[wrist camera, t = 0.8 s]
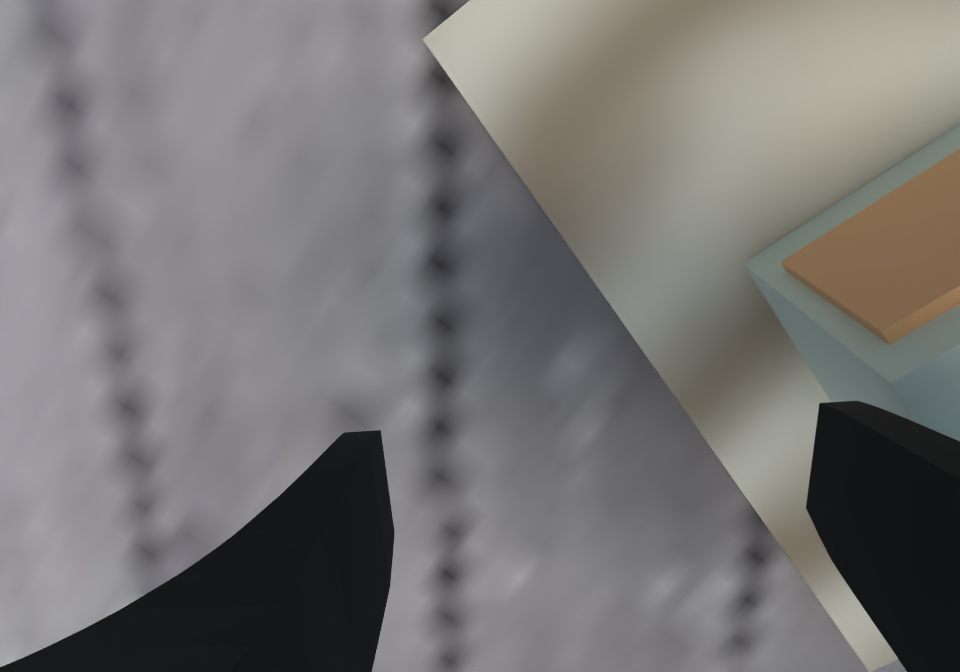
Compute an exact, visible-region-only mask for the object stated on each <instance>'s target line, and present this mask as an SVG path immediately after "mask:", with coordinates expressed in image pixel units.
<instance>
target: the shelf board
mask: <svg viewBox="0 0 960 672" xmlns="http://www.w3.org/2000/svg"><path fill="white" fill-rule="evenodd" d="M423 41H424V42H425V43H426V45H427V46H428V48H429V49H430V50H431V52H432V53H433V55H434V56H435V58H436V59H437V60H438V62H439V63H440V65H441V66H442V67H443V69H444V70H445V72H446V73H447V75H448V76H449V77H450V79H451V80H452V82H453V83H454V84H455V86H456V87H457V89H458V90H459V92H460V93H461V94H462V96H463V97H464V99H465V100H466V101H467V103H468V104H469V106H470V107H471V109H472V110H473V111H474V113H475V114H476V116H477V117H478V118H479V120H480V121H481V123H482V124H483V125H484V127H485V128H486V130H487V131H488V133H489V134H490V135H491V137H492V138H493V140H494V141H495V142H496V144H497V145H498V147H499V148H500V150H501V151H502V152H503V154H504V155H505V157H506V158H507V159H508V161H509V162H510V164H511V165H512V167H513V168H514V169H515V171H516V172H517V174H518V175H519V176H520V178H521V179H522V181H523V182H524V184H525V185H526V186H527V188H528V189H529V191H530V192H531V193H532V195H533V196H534V198H535V199H536V201H537V202H538V203H539V205H540V206H541V208H542V209H543V210H544V212H545V213H546V215H547V216H548V218H549V219H550V220H551V222H552V223H553V225H554V226H555V227H556V229H557V230H558V232H559V233H560V235H561V236H562V237H563V239H564V240H565V242H566V243H567V244H568V246H569V247H570V249H571V250H572V252H573V253H574V254H575V256H576V257H577V259H578V260H579V261H580V263H581V264H582V266H583V267H584V269H585V270H586V271H587V273H588V274H589V276H590V277H591V278H592V280H593V281H594V283H595V284H596V286H597V287H598V288H599V290H600V291H601V293H602V294H603V295H604V297H605V298H606V300H607V301H608V303H609V304H610V305H611V307H612V308H613V310H614V311H615V312H616V314H617V315H618V317H619V318H620V320H621V321H622V322H623V324H624V325H625V327H626V328H627V329H628V331H629V332H630V334H631V335H632V337H633V338H634V339H635V341H636V342H637V344H638V345H639V346H640V348H641V349H642V351H643V352H644V354H645V355H646V356H647V358H648V359H649V361H650V362H651V363H652V365H653V366H654V368H655V369H656V371H657V372H658V373H659V375H660V376H661V378H662V379H663V380H664V382H665V383H666V385H667V386H668V388H669V389H670V390H671V392H672V393H673V395H674V396H675V397H676V399H677V400H678V402H679V403H680V404H681V406H682V407H683V409H684V410H685V412H686V413H687V414H688V416H689V417H690V419H691V420H692V421H693V423H694V424H695V426H696V427H697V429H698V430H699V431H700V433H701V434H702V436H703V437H704V438H705V440H706V441H707V443H708V444H709V446H710V447H711V448H712V450H713V451H714V453H715V454H716V455H717V457H718V458H719V460H720V461H721V463H722V464H723V465H724V467H725V468H726V470H727V471H728V472H729V474H730V475H731V477H732V478H733V480H734V481H735V482H736V484H737V485H738V487H739V488H740V489H741V491H742V492H743V494H744V495H745V497H746V498H747V499H748V501H749V502H750V504H751V505H752V506H753V508H754V509H755V511H756V512H757V514H758V515H759V516H760V518H761V519H762V521H763V522H764V523H765V525H766V526H767V528H768V529H769V531H770V532H771V533H772V535H773V536H774V538H775V539H776V540H777V542H778V543H779V545H780V546H781V548H782V549H783V550H784V552H785V553H786V555H787V556H788V557H789V559H790V560H791V562H792V563H793V565H794V566H795V567H796V569H797V570H798V572H799V573H800V574H801V576H802V577H803V579H804V580H805V582H806V583H807V584H808V586H809V587H810V589H811V590H812V591H813V593H814V594H815V596H816V597H817V599H818V600H819V601H820V603H821V604H822V606H823V607H824V608H825V610H826V611H827V613H828V614H829V616H830V617H831V618H832V620H833V621H834V623H835V624H836V625H837V627H838V628H839V630H840V631H841V633H842V634H843V635H844V637H845V638H846V640H847V641H848V642H849V644H850V645H851V647H852V648H853V650H854V651H855V652H856V654H857V655H858V657H859V658H860V659H861V661H862V662H863V664H864V665H865V667H866V668H867V669H868V671H869V672H872V671H874V670H877V669H879V668H881V667H883V666H885V665H887V664H889V663H892V662H894V661H896V660H898V658H897V656H896V655H895V653H894V652H893V650H892V649H891V647H890V646H889V644H888V643H887V642H886V640H885V639H884V637H883V636H882V634H881V633H880V631H879V630H878V628H877V627H876V626H875V624H874V623H873V621H872V620H871V618H870V617H869V615H868V614H867V613H866V611H865V610H864V608H863V607H862V605H861V604H860V602H859V601H858V599H857V598H856V596H855V595H854V593H853V592H852V590H851V589H850V588H849V586H848V585H847V583H846V582H845V580H844V579H843V577H842V576H841V574H840V573H839V571H838V570H837V568H836V566H835V565H834V563H833V562H832V560H831V558H830V556H829V555H828V553H827V551H826V549H825V547H824V545H823V543H822V541H821V539H820V537H819V535H818V533H817V531H816V528H815V526H814V524H813V522H812V520H811V518H810V516H809V513H808V511H807V509H806V503H807V495H808V487H809V480H810V472H811V464H812V456H813V449H814V441H815V433H816V425H817V417H818V410H819V403H827V402H831V401H830V399H829V398H828V396H827V395H826V393H825V392H824V390H823V388H822V387H821V385H820V384H819V382H818V381H817V379H816V377H815V376H814V374H813V373H812V371H811V370H810V368H809V366H808V365H807V363H806V362H805V360H804V359H803V357H802V355H801V354H800V352H799V351H798V349H797V347H796V346H795V344H794V343H793V341H792V340H791V338H790V336H789V335H788V333H787V332H786V330H785V329H784V327H783V325H782V324H781V322H780V321H779V319H778V318H777V316H776V314H775V313H774V311H773V310H772V308H771V307H770V305H769V303H768V302H767V300H766V299H765V297H764V296H763V294H762V292H761V291H760V289H759V288H758V286H757V285H756V283H755V281H754V280H753V278H752V277H751V275H750V274H749V272H748V270H747V269H746V267H745V266H744V264H743V263H744V262H746V261H747V260H749V259H751V258H752V257H754V256H755V255H757V254H758V253H760V252H762V251H763V250H765V249H766V248H768V247H769V246H771V245H772V244H774V243H776V242H777V241H779V240H780V239H782V238H783V237H785V236H787V235H788V234H790V233H791V232H793V231H794V230H796V229H797V228H799V227H801V226H802V225H804V224H805V223H807V222H808V221H810V220H812V219H813V218H815V217H816V216H818V215H819V214H821V213H822V212H824V211H826V210H827V209H829V208H830V207H832V206H833V205H835V204H837V203H838V202H840V201H841V200H843V199H844V198H846V197H847V196H849V195H851V194H852V193H854V192H855V191H857V190H858V189H860V188H861V187H863V186H865V185H866V184H868V183H869V182H871V181H872V180H874V179H876V178H877V177H879V176H880V175H882V174H883V173H885V172H886V171H888V170H890V169H891V168H893V167H894V166H896V165H897V164H899V163H901V162H902V161H904V160H905V159H907V158H908V157H910V156H911V155H913V154H915V153H916V152H918V151H919V150H921V149H922V148H924V147H926V146H927V145H929V144H930V143H932V142H933V141H935V140H936V139H938V138H940V137H941V136H943V135H944V134H946V133H947V132H949V131H951V130H952V129H954V128H955V127H957V126H958V125H960V0H470V1H468V2H467V3H466V4H465V5H464V6H462V7H461V8H460V9H459V10H458V11H456V12H455V13H454V14H453V15H451V16H450V17H449V18H448V19H447V20H445V21H444V22H443V23H442V24H440V25H439V26H438V27H437V28H436V29H434V30H433V31H432V32H431V33H430V34H428V35H427V36H426V37H425V38H423Z"/></svg>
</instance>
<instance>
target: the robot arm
mask: <svg viewBox="0 0 960 672" xmlns="http://www.w3.org/2000/svg"><path fill="white" fill-rule="evenodd" d="M806 509H807V511H808V513H809V516H810V518H811V520H812V522H813V524H814V526H815V528H816V531H817V533H818V535H819V537H820V539H821V541H822V543H823V545H824V547H825V549H826V551H827V553H828V555H829V556H830V558H831V560H832V562H833V563H834V565H835V566H836V568H837V570H838V571H839V573H840V574H841V576H842V577H843V579H844V580H845V582H846V583H847V585H848V586H849V588H850V589H851V590H852V592H853V593H854V595H855V596H856V598H857V599H858V601H859V602H860V604H861V605H862V607H863V608H864V610H865V611H866V613H867V614H868V615H869V617H870V618H871V620H872V621H873V623H874V624H875V626H876V627H877V628H878V630H879V631H880V633H881V634H882V636H883V637H884V639H885V640H886V642H887V643H888V644H889V646H890V647H891V649H892V650H893V652H894V653H895V655H896V656H897V658H898V659H899V660H900V662H901V663H902V665H903V666H904V668H905V669H906V671H907V672H960V441H958V440H955V439H953V438H951V437H948V436H946V435H944V434H941V433H939V432H937V431H934V430H932V429H930V428H927V427H925V426H923V425H920V424H918V423H916V422H913V421H911V420H909V419H906V418H904V417H901V416H899V415H896V414H894V413H892V412H889V411H887V410H884V409H881V408H879V407H876V406H873V405H870V404H867V403H864V402H860V401H843V402H827V403H819V410H818V417H817V425H816V433H815V441H814V449H813V456H812V464H811V472H810V480H809V487H808V495H807V503H806ZM393 544H394V526H393V519H392V511H391V504H390V496H389V489H388V482H387V474H386V467H385V460H384V452H383V445H382V438H381V430H379V431H363V432H347V433H343V434H342V435H341V436H340V437H339V438H338V439H337V440H336V441H335V442H334V443H333V444H332V445H331V446H330V447H329V448H328V449H327V450H326V451H325V452H324V453H323V454H322V455H321V456H320V457H319V458H318V459H317V460H316V461H315V462H314V463H313V464H312V465H311V466H310V467H309V468H308V469H307V470H306V471H305V472H304V473H303V474H302V475H301V476H300V477H299V478H298V479H297V480H296V481H294V482H293V483H292V484H291V485H290V486H289V487H288V488H287V489H286V490H285V491H284V492H283V493H282V494H281V495H280V496H279V497H278V498H276V499H275V500H274V501H273V502H272V503H271V504H269V505H268V506H267V507H266V508H265V509H264V510H263V511H261V512H260V513H259V514H258V515H257V516H256V517H255V518H253V519H252V520H251V521H250V522H249V523H248V524H246V525H245V526H244V527H243V528H242V529H241V530H239V531H238V532H237V533H236V534H234V535H233V536H232V537H231V538H229V539H228V540H227V541H225V542H224V543H223V544H221V545H220V546H219V547H217V548H216V549H215V550H213V551H212V552H210V553H209V554H208V555H206V556H205V557H203V558H202V559H201V560H199V561H198V562H196V563H195V564H193V565H192V566H191V567H189V568H188V569H186V570H185V571H183V572H182V573H180V574H179V575H177V576H175V577H174V578H172V579H170V580H169V581H167V582H166V583H164V584H162V585H161V586H159V587H157V588H156V589H154V590H152V591H151V592H149V593H147V594H146V595H144V596H142V597H141V598H139V599H137V600H136V601H134V602H132V603H131V604H129V605H127V606H126V607H124V608H122V609H121V610H119V611H117V612H115V613H113V614H111V615H109V616H108V617H106V618H104V619H102V620H100V621H98V622H96V623H94V624H92V625H91V626H89V627H87V628H85V629H83V630H81V631H79V632H77V633H75V634H73V635H71V636H69V637H67V638H65V639H62V640H60V641H58V642H56V643H54V644H52V645H50V646H48V647H46V648H44V649H42V650H39V651H37V652H35V653H33V654H31V655H29V656H26V657H24V658H22V659H19V660H17V661H15V662H12V663H10V664H7V665H5V666H3V667H0V672H372V667H373V663H374V658H375V654H376V649H377V645H378V640H379V635H380V631H381V626H382V622H383V617H384V612H385V607H386V603H387V598H388V593H389V588H390V580H391V569H392V557H393Z"/></svg>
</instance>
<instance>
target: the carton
mask: <svg viewBox="0 0 960 672" xmlns="http://www.w3.org/2000/svg"><path fill="white" fill-rule="evenodd" d="M743 264H744V266H745V267H746V269H747V270H748V272H749V274H750V275H751V277H752V278H753V280H754V281H755V283H756V285H757V286H758V288H759V289H760V291H761V292H762V294H763V296H764V297H765V299H766V300H767V302H768V303H769V305H770V307H771V308H772V310H773V311H774V313H775V314H776V316H777V318H778V319H779V321H780V322H781V324H782V325H783V327H784V329H785V330H786V332H787V333H788V335H789V336H790V338H791V340H792V341H793V343H794V344H795V346H796V347H797V349H798V351H799V352H800V354H801V355H802V357H803V359H804V360H805V362H806V363H807V365H808V366H809V368H810V370H811V371H812V373H813V374H814V376H815V377H816V379H817V381H818V382H819V384H820V385H821V387H822V388H823V390H824V392H825V393H826V395H827V396H828V398H829V399H830V401H831V402H843V401H860V402H864V403H867V404H870V405H873V406H876V407H879V408H881V409H884V410H887V411H889V412H892V413H894V414H896V415H899V416H901V417H904V418H906V419H909V420H911V421H913V422H916V423H918V424H920V425H923V426H925V427H927V428H930V429H932V430H934V431H937V432H939V433H941V434H944V435H946V436H948V437H951V438H953V439H955V440H958V441H960V125H958V126H957V127H955V128H954V129H952V130H951V131H949V132H947V133H946V134H944V135H943V136H941V137H940V138H938V139H936V140H935V141H933V142H932V143H930V144H929V145H927V146H926V147H924V148H922V149H921V150H919V151H918V152H916V153H915V154H913V155H911V156H910V157H908V158H907V159H905V160H904V161H902V162H901V163H899V164H897V165H896V166H894V167H893V168H891V169H890V170H888V171H886V172H885V173H883V174H882V175H880V176H879V177H877V178H876V179H874V180H872V181H871V182H869V183H868V184H866V185H865V186H863V187H861V188H860V189H858V190H857V191H855V192H854V193H852V194H851V195H849V196H847V197H846V198H844V199H843V200H841V201H840V202H838V203H837V204H835V205H833V206H832V207H830V208H829V209H827V210H826V211H824V212H822V213H821V214H819V215H818V216H816V217H815V218H813V219H812V220H810V221H808V222H807V223H805V224H804V225H802V226H801V227H799V228H797V229H796V230H794V231H793V232H791V233H790V234H788V235H787V236H785V237H783V238H782V239H780V240H779V241H777V242H776V243H774V244H772V245H771V246H769V247H768V248H766V249H765V250H763V251H762V252H760V253H758V254H757V255H755V256H754V257H752V258H751V259H749V260H747V261H746V262H744V263H743Z"/></svg>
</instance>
